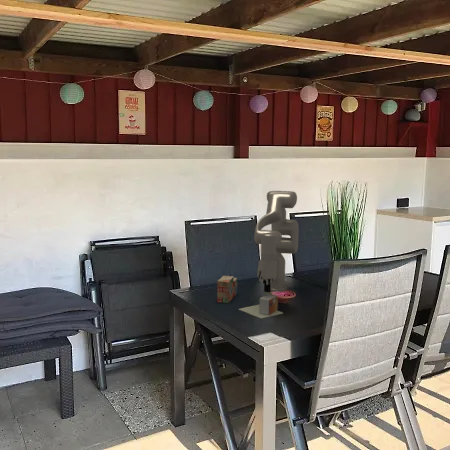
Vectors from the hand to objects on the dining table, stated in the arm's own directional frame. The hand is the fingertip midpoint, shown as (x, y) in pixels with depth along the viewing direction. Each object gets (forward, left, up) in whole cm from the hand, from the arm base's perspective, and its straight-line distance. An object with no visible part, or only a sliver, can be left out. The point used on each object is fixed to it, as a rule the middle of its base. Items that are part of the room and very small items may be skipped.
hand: (267, 291), depth 260 cm
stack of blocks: (+3, -29, -10) cm, 31 cm away
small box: (-3, +2, -6) cm, 6 cm away
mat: (+4, 0, -10) cm, 11 cm away
